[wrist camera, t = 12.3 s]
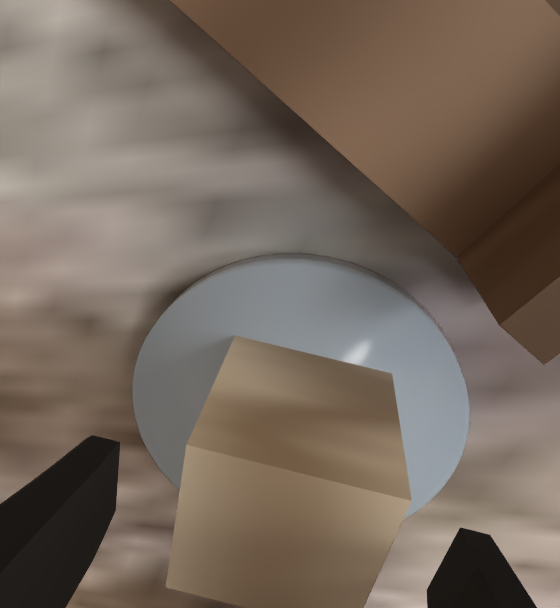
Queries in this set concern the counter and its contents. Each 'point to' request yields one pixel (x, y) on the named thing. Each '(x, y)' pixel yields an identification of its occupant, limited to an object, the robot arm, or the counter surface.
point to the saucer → (311, 339)
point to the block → (290, 482)
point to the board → (432, 123)
